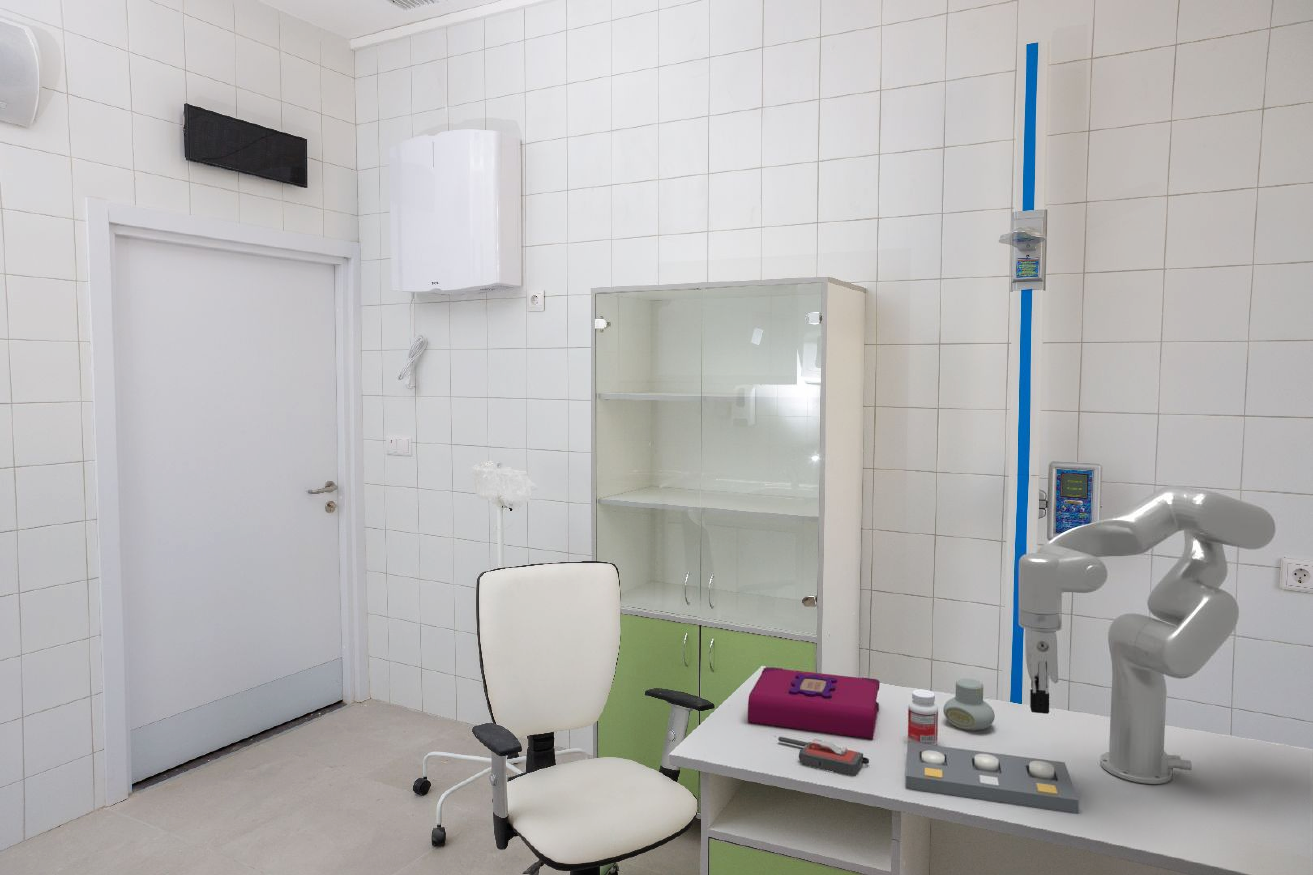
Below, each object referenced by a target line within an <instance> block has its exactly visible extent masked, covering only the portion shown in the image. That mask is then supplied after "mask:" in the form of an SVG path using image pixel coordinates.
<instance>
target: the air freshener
mask: <svg viewBox="0 0 1313 875" xmlns="http://www.w3.org/2000/svg"><path fill="white" fill-rule="evenodd" d="M943 715H944V717H945V719H947V721H948V722H949V723H951V724H952V725H953V726H954V727H957V728H958V729H959V730H962V729H963V731H980V730H985V729H987V728H988V727H990V726H991V725H993V723H994V722H995V718H996V714H995V711H994V709H993V707H991V705H990V704H989V703H987V702H986V701H985V700H984V685H983V683H982V682H980V681H978V680H976V679H974V678H973V679H972V678H960V679H957V680H956V681H955V697H954V696H953V697H952V698H950V699H948V700H947V701H946V702H945V704H944V705H943Z"/></svg>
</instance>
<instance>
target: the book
mask: <svg viewBox="0 0 1313 875" xmlns="http://www.w3.org/2000/svg"><path fill="white" fill-rule="evenodd" d="M880 683H881V682H880V680H879V679H875V678H868V677H857V676H847V675H838V674H830V673H829V674H828V673H822V672H811V671H810V672H809V671H803V670H795V669H793V670H792V669H783V667H782V668H781V667H772V666H765V667H763V670H762V671H761V674H760V676H759V678H758V679H757V681H756V682H755V684H754V685H753V688H752V689H751V691H750V692H749V695H748V701H747V703H748V704H747V722H748V723H750V724H758V725H766V726H772V727H780V728H787V729H796V730H802V731H808V732H809V731H811V732H816V733H824V734H825V733H826V734H831V735H832V734H833V735H839V736H847V737H854V738H861V739H862V738H863V739H868V740H869V739H870V740H873V739H874V735H875V729H876V723H877V718H878V713H879V711H880V710H879V708H880V703H879V702H878V701H877V700H878V693H879V691H880Z"/></svg>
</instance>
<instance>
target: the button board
mask: <svg viewBox="0 0 1313 875" xmlns="http://www.w3.org/2000/svg"><path fill="white" fill-rule="evenodd" d="M928 750H931V751H937V752H940V753H942V754H943V755H944V756H945V763H944V765H937V764H929V763H922V762H921V759H922V752H923V751H928ZM977 754H989V755H992V756H994V757H996V758H997V759H998V760H999V762H998V771H997V772H988V771H981V770H978V769H976V768H975V766H974V761H975V755H977ZM1032 761H1043V762H1047V763H1049V764H1051V765H1053V766H1054V779H1052V780H1047V779H1040V778H1034V777H1032V776H1031V775H1030V774H1029V763H1030V762H1032ZM905 789H909V790H912V791H913V790H915V791H921V792H926V793H927V792H929V793H936V794H940V793H941V794H942V795H949V796H956V797H961V796H963V798H967V799H968V798H970V799H975V800H976V799H977V800H983V801H989V802H996V803H997V802H998V803H1004V804H1009V805H1010V804H1011V805H1017V806H1018V805H1019V806H1023V807H1024V806H1025V807H1031V808H1039V809H1044V810H1050V811H1051V810H1052V811H1059V812H1065V813H1072V814H1079V807H1080V806H1079V805H1080V800H1079V798H1078V794H1077V792H1076V789H1075V787H1074V784H1073V782H1072V779H1071V776H1070V773H1069V770H1068V767H1067V765H1066V762H1065V761H1059V760H1050V759H1043V758H1036V757H1035V758H1034V757H1025V756H1020V755H1019V756H1018V755H1013V754H1012V755H1011V754H1006V753H1005V754H1004V753H996V752H990V751H981V750H972V749H965V748H958V747H950V746H943V745H936V746H935V745H928V744H920V743H912V742H909V741H908V742H907V750H906V771H905Z"/></svg>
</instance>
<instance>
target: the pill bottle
mask: <svg viewBox="0 0 1313 875" xmlns="http://www.w3.org/2000/svg"><path fill="white" fill-rule="evenodd" d="M911 695H912V696H911V698H912V700H911V701H910V702H909V703H908V705H907V706H908V709H907V710H908V711H907V715H908V716H907V741H908V742H912V743H920V744H928V745H935V746H938V745H937V744H938V737H939V736H938V731H939V729H938V726H939V723H938V722H939V708H938V705H937V703H936V701H935V700H936V694H935V692H933V691H931V690H929V689H923V688H922V689H921V688H919V689H914V690H913V691H912V693H911Z"/></svg>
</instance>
